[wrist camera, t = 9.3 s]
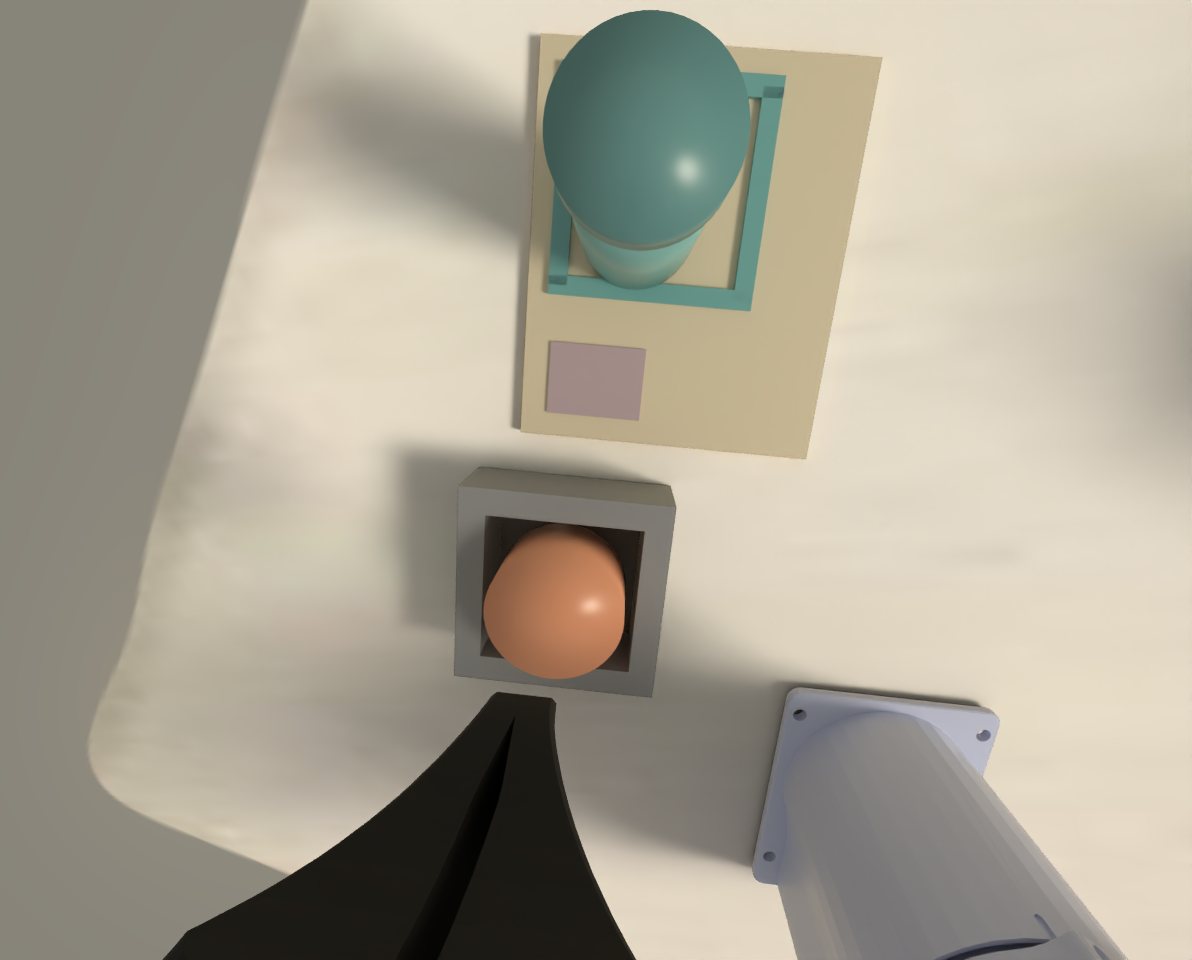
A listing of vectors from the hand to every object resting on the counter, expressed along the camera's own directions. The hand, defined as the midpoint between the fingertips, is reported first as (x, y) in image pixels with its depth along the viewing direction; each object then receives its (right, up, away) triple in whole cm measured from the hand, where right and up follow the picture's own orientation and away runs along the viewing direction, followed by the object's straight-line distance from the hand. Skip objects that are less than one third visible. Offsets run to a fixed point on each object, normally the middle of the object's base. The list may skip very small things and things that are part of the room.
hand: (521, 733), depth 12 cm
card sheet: (+5, +13, +6) cm, 15 cm away
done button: (0, +2, +7) cm, 8 cm away
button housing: (+1, +2, +9) cm, 9 cm away
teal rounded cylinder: (+3, +13, +5) cm, 15 cm away
